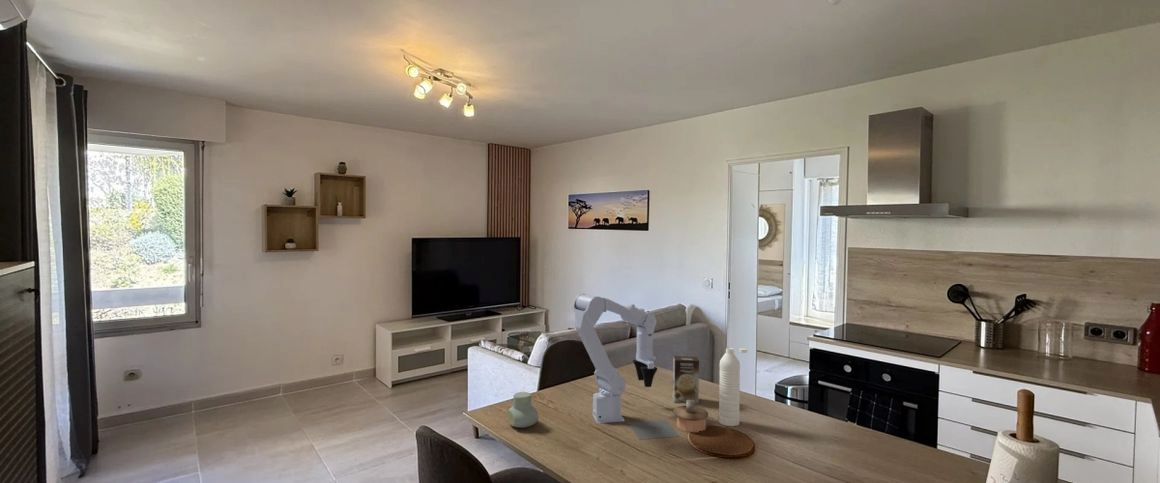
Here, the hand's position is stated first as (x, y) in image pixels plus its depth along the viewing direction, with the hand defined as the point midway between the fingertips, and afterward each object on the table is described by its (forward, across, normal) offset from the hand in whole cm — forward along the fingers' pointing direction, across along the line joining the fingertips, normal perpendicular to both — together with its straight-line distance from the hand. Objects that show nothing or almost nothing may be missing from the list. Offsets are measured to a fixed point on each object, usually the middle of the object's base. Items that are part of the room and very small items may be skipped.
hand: (644, 383), depth 172 cm
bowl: (+9, -18, -10) cm, 23 cm away
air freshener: (+10, -6, +44) cm, 45 cm away
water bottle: (+10, -17, -25) cm, 32 cm away
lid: (+5, -18, -10) cm, 21 cm away
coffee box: (+10, +6, -18) cm, 21 cm away
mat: (+9, -18, +3) cm, 21 cm away
